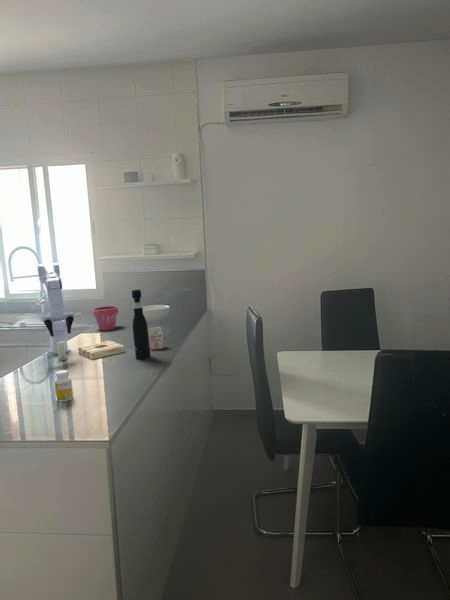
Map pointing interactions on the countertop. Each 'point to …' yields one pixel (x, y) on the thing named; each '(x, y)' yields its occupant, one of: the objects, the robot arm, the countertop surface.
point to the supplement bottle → (63, 386)
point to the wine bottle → (140, 329)
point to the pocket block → (101, 349)
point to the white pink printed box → (155, 338)
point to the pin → (61, 350)
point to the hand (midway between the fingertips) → (60, 334)
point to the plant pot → (106, 317)
